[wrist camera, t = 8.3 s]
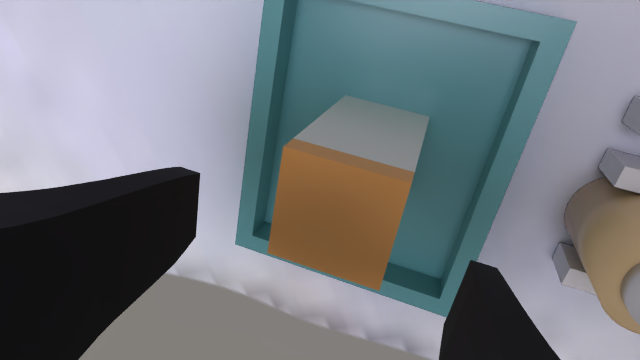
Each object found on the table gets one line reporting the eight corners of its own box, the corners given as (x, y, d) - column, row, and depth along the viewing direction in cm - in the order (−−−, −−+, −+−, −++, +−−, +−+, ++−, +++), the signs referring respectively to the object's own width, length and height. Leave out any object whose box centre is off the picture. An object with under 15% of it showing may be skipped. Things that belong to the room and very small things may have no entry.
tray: (563, 18, 16) (577, 21, 14) (453, 290, 21) (452, 319, 19) (289, -38, 18) (268, -42, 16) (253, 224, 23) (235, 244, 21)
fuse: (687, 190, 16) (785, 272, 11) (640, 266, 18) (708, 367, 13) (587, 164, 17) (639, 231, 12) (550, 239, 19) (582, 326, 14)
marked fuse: (429, 116, 18) (411, 183, 11) (406, 193, 19) (379, 290, 13) (345, 95, 18) (283, 146, 12) (329, 171, 20) (267, 253, 13)
